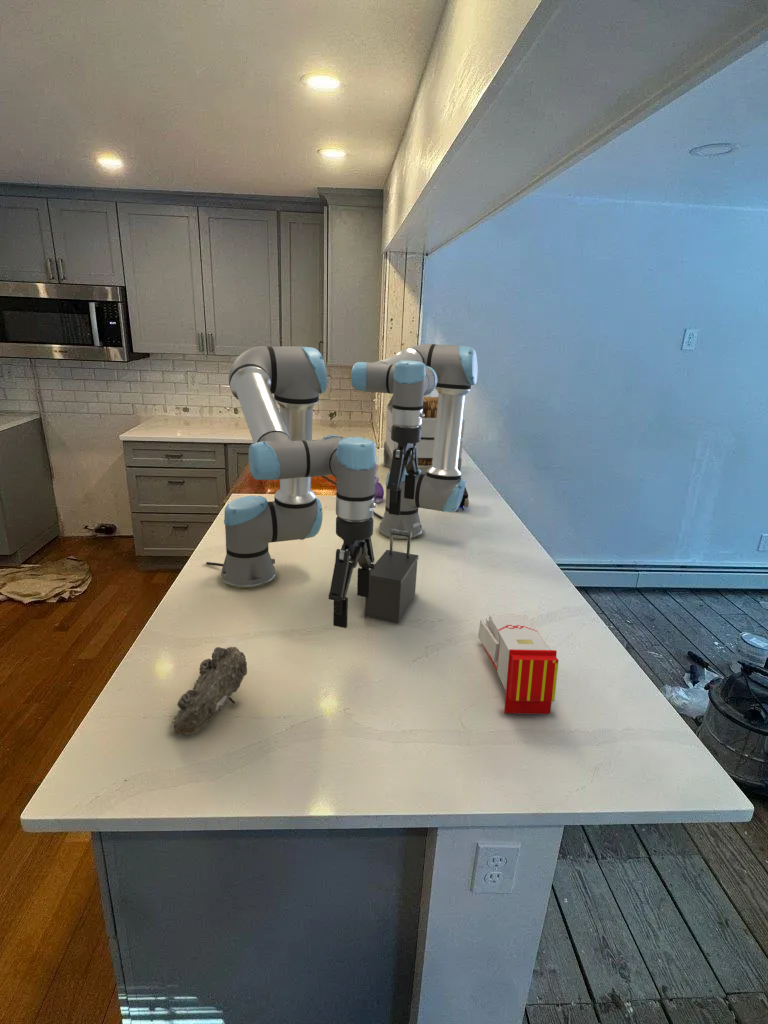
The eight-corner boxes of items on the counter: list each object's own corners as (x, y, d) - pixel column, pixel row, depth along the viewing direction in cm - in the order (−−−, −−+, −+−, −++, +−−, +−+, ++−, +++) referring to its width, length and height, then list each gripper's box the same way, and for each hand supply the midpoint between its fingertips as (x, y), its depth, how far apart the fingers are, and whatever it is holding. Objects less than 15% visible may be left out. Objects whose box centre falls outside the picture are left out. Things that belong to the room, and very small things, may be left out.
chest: (383, 589, 160) (385, 554, 156) (415, 595, 158) (417, 560, 154) (364, 616, 146) (365, 578, 142) (398, 623, 143) (400, 585, 139)
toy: (524, 600, 137) (567, 656, 108) (520, 651, 140) (560, 720, 111) (474, 599, 137) (504, 655, 107) (471, 650, 140) (498, 719, 110)
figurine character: (468, 516, 224) (463, 500, 237) (471, 498, 221) (465, 483, 234) (452, 515, 224) (447, 499, 237) (453, 498, 220) (449, 482, 234)
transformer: (382, 463, 289) (386, 382, 275) (445, 464, 293) (451, 384, 279) (390, 482, 257) (394, 392, 243) (460, 483, 261) (468, 394, 247)
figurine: (368, 505, 226) (369, 469, 221) (357, 498, 235) (358, 463, 230) (389, 503, 230) (391, 467, 225) (378, 495, 239) (379, 461, 234)
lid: (386, 553, 157) (387, 523, 154) (418, 559, 155) (420, 528, 152) (365, 578, 142) (367, 546, 139) (400, 585, 139) (402, 552, 136)
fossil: (197, 648, 121) (247, 617, 116) (228, 678, 124) (278, 648, 119) (149, 728, 102) (207, 694, 97) (187, 761, 105) (245, 730, 100)
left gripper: (349, 541, 101) (347, 644, 108) (391, 500, 123) (387, 588, 130) (311, 535, 103) (311, 636, 110) (358, 496, 125) (356, 582, 132)
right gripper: (407, 436, 128) (402, 523, 136) (432, 418, 151) (427, 494, 158) (376, 433, 131) (372, 519, 138) (405, 415, 153) (401, 490, 160)
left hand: (352, 610), depth 120 cm, fingers open, 13 cm apart
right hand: (402, 506), depth 148 cm, fingers open, 13 cm apart
